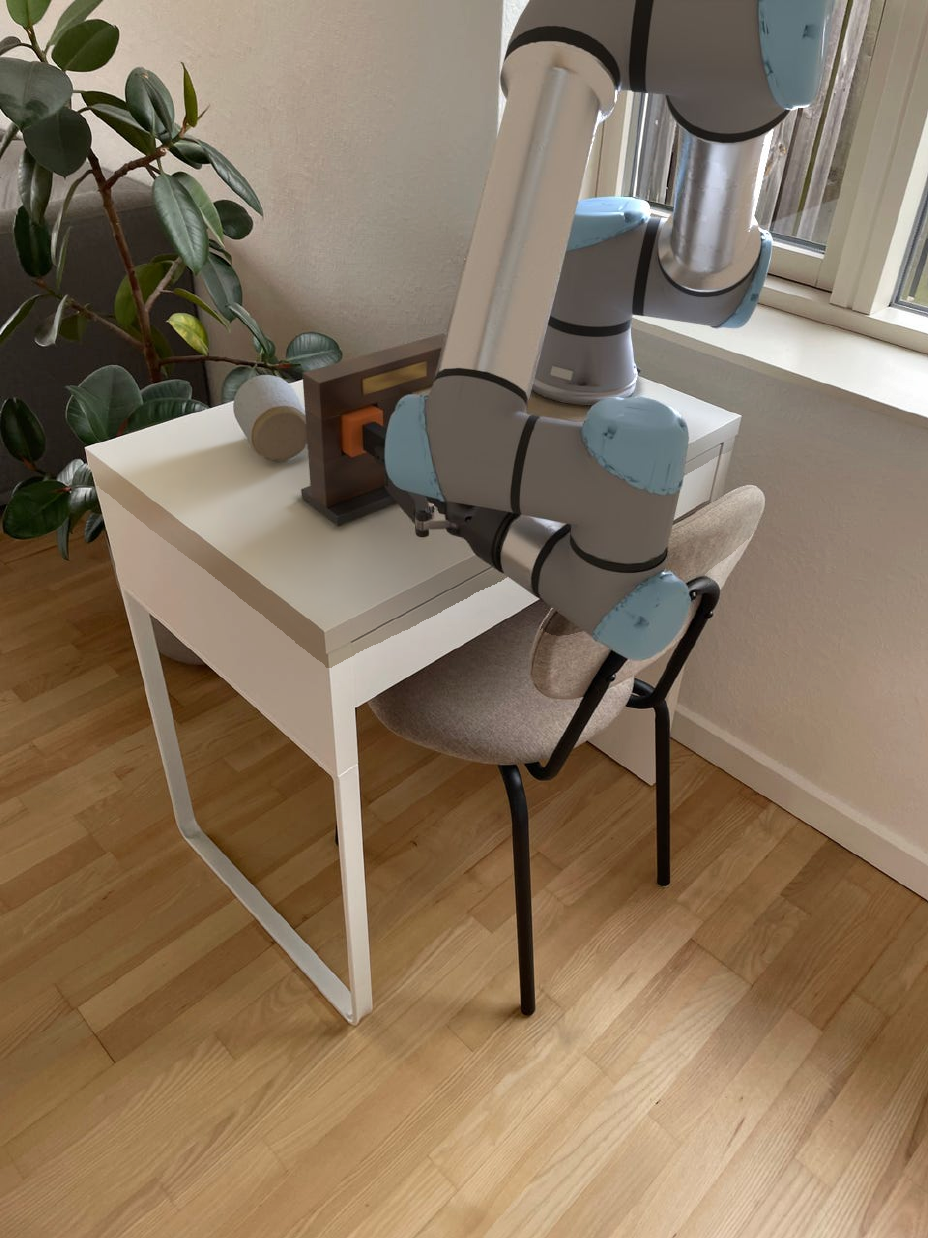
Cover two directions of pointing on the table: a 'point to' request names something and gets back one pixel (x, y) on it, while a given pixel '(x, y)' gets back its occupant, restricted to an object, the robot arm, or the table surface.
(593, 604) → the robot arm
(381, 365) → the brown wooden upright panel
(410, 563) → the table surface
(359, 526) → the table surface
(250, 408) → the ceramic mug
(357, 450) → the orange key
